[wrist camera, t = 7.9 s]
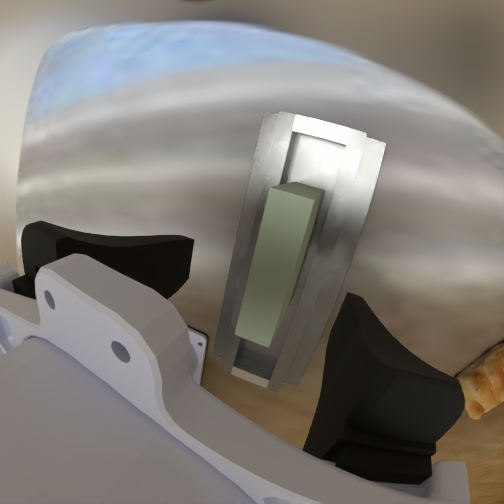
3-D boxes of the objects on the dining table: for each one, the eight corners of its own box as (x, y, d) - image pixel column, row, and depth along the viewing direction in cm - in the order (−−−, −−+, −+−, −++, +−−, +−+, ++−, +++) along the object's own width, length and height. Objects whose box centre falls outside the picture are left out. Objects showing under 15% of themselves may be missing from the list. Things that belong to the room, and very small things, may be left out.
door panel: (291, 299, 20) (268, 347, 14) (265, 290, 20) (234, 334, 15) (324, 190, 17) (314, 200, 11) (294, 181, 17) (269, 187, 12)
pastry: (521, 310, 14) (541, 332, 11) (536, 349, 14) (551, 371, 11) (446, 378, 18) (454, 407, 15) (469, 407, 18) (476, 433, 15)
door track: (299, 378, 23) (293, 397, 21) (217, 347, 25) (205, 362, 22) (384, 145, 16) (389, 141, 13) (268, 114, 17) (257, 107, 15)
